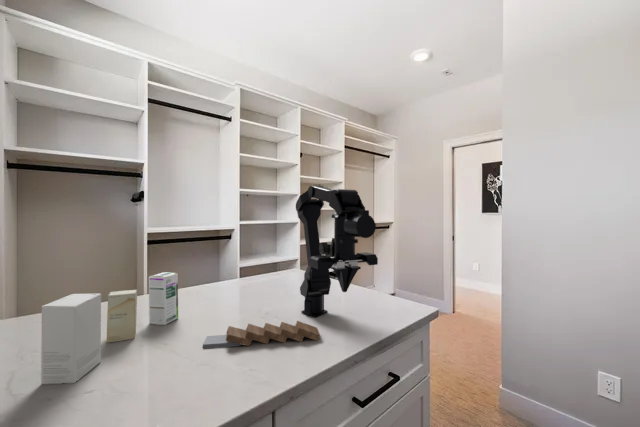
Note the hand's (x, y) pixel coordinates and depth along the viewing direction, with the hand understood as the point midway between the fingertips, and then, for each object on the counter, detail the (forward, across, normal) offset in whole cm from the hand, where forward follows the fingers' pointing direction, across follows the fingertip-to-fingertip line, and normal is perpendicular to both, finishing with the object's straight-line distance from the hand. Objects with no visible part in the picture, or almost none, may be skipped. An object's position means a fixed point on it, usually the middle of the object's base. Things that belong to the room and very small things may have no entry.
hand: (344, 291), depth 79 cm
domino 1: (+11, +24, -7) cm, 27 cm away
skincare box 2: (+12, +54, -24) cm, 61 cm away
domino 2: (+11, +20, -6) cm, 23 cm away
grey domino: (+12, +26, -8) cm, 30 cm away
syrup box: (+12, +45, -32) cm, 57 cm away
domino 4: (+11, +11, -4) cm, 16 cm away
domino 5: (+11, +7, -2) cm, 13 cm away
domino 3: (+11, +15, -5) cm, 20 cm away
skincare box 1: (+12, +60, -8) cm, 62 cm away
